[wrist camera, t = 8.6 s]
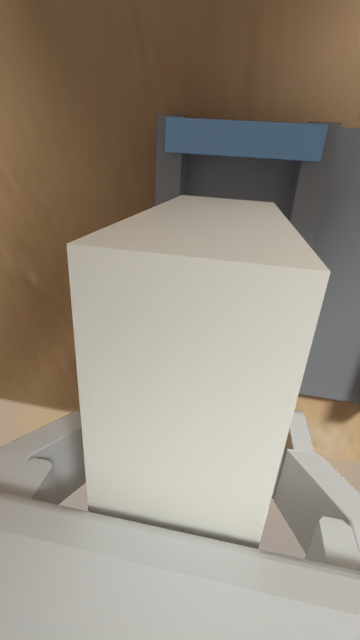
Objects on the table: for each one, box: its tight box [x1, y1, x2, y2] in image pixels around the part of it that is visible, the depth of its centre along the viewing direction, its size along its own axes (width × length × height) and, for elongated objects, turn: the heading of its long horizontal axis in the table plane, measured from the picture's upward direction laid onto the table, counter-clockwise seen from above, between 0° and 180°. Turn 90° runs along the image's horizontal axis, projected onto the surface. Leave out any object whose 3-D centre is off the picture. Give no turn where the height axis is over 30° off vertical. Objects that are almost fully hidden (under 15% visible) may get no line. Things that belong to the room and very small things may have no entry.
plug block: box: [66, 195, 331, 549], centre depth 10 cm, size 12×3×8 cm, turn 176°
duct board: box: [154, 114, 360, 404], centre depth 21 cm, size 18×26×4 cm
